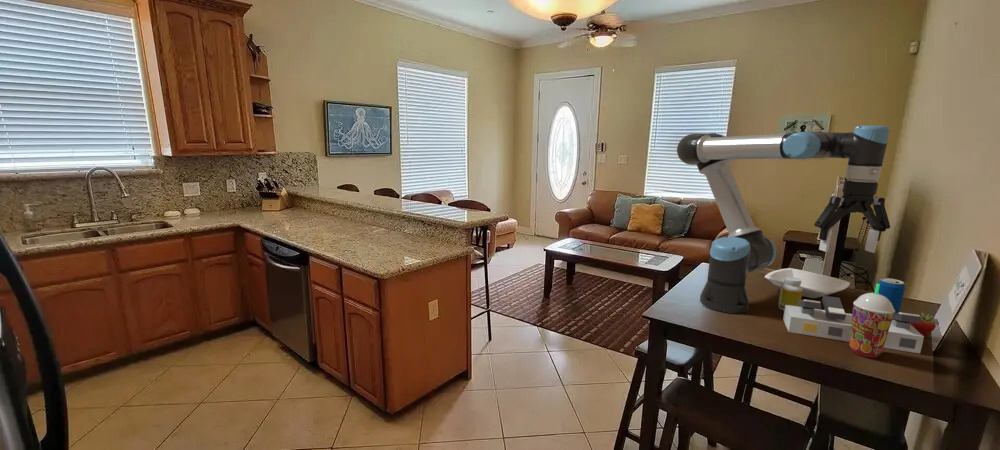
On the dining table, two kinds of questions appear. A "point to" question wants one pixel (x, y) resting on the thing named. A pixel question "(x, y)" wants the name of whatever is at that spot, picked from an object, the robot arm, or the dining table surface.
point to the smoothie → (870, 324)
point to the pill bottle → (790, 292)
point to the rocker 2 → (833, 307)
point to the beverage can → (892, 291)
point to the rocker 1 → (809, 304)
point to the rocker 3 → (907, 317)
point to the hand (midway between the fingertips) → (846, 251)
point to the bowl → (809, 282)
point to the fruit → (924, 325)
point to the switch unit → (848, 328)
